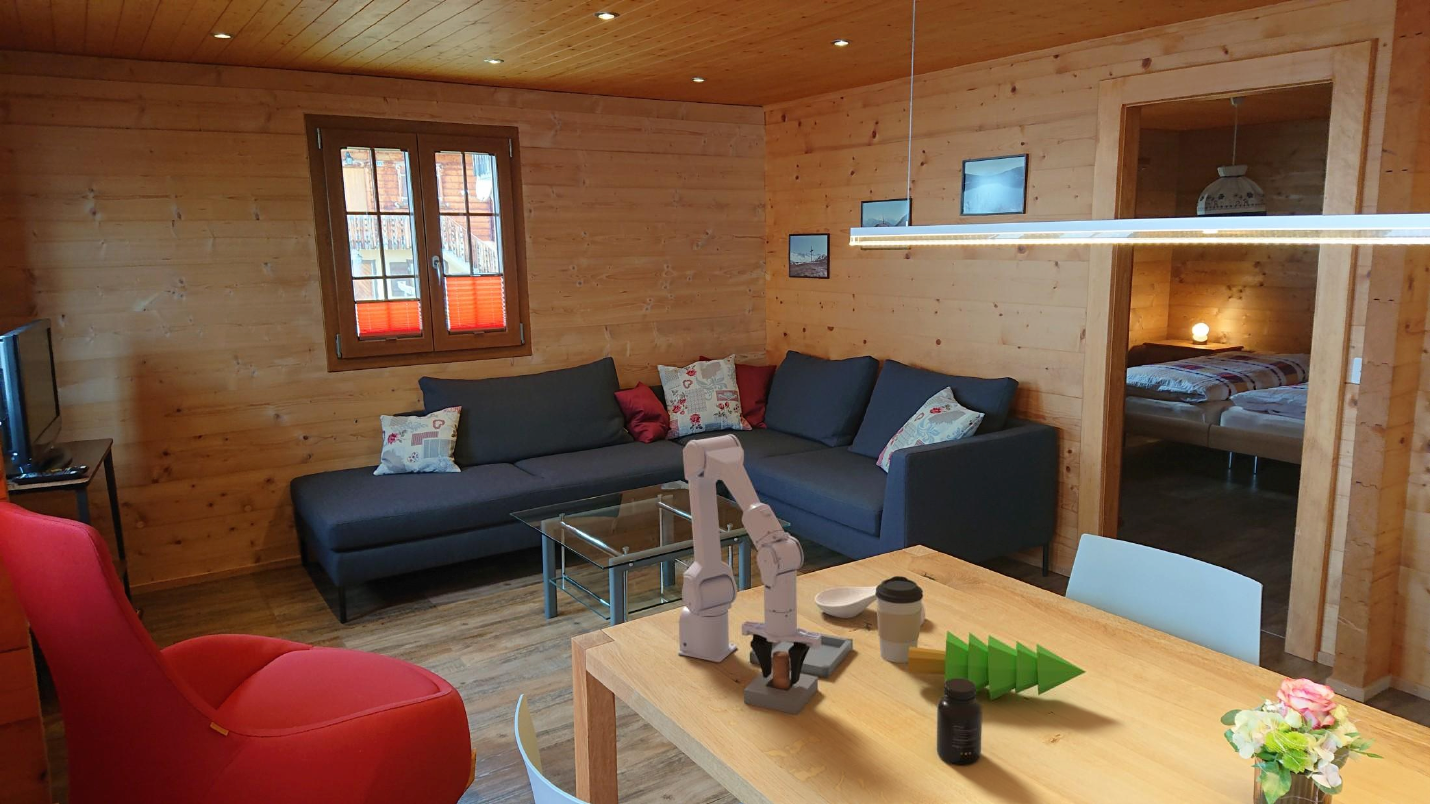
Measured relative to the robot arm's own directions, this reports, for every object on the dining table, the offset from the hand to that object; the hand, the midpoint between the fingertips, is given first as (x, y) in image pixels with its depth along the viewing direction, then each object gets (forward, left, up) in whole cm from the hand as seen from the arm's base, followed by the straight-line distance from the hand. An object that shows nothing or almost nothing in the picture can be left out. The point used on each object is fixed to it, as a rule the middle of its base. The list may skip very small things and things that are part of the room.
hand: (781, 678), depth 170 cm
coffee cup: (+14, +25, -4) cm, 29 cm away
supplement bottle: (+33, -6, -4) cm, 34 cm away
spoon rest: (+3, +42, -4) cm, 42 cm away
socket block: (0, 0, -3) cm, 3 cm away
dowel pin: (0, 0, -3) cm, 3 cm away
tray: (-3, +17, -3) cm, 18 cm away
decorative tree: (+34, +16, -4) cm, 38 cm away
